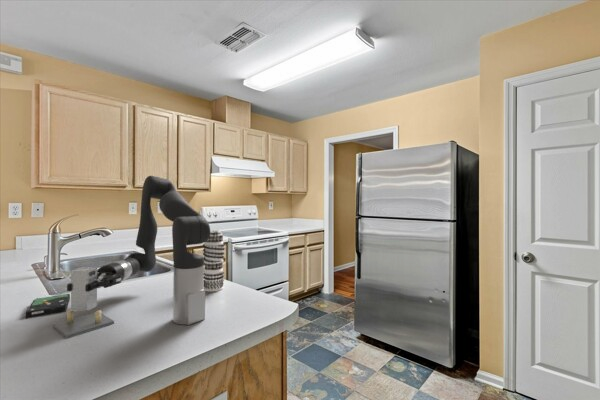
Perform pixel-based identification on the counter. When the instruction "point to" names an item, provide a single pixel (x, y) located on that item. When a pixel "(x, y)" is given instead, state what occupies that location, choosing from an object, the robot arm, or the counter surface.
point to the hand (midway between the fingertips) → (77, 288)
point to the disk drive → (48, 305)
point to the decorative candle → (213, 261)
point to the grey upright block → (83, 289)
